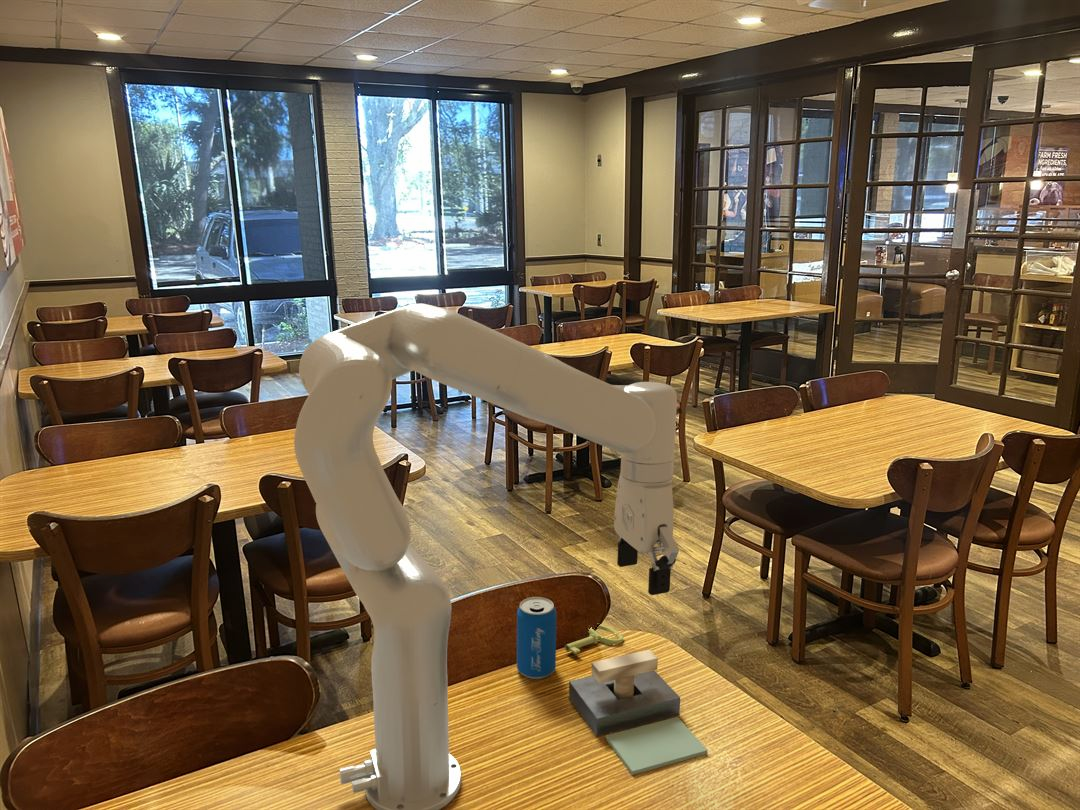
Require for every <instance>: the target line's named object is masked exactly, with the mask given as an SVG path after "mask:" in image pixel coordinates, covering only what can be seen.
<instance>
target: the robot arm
mask: <svg viewBox="0 0 1080 810" xmlns="http://www.w3.org/2000/svg"><path fill="white" fill-rule="evenodd" d="M411 372H416V373H418V374H419V375H422V376H423V377H426V378H428V379H430V380H432V381H435V382H437V383H440V384H442V385H445V386H447V387H449V388H452V389H455V390H456V391H457V390H458V391H460V392H463V393H465V394H467V395H469V396H473V397H475V398H478V399H480V400H483V401H486V402H487V403H489V404H492V405H495V406H497V407H500V408H503V409H505V410H507V411H510V412H512V413H515V414H516V415H519V416H522V417H524V418H527V419H530V420H533V421H537V422H540V423H543V424H547V425H550V426H551V427H552V426H553V427H554V428H555V427H556V428H558V429H561V430H563V431H566V432H568V433H570V434H573V435H576V436H578V437H579V438H583V439H585V440H587V441H590V442H592V443H596V444H598V445H601V446H602V447H606V448H607V449H609V450H612V451H615V452H618V453H620V454H621V455H620V473H619V477H618V478H619V479H618V483H617V489H616V495H615V496H616V497H615V506H614V518H613V520H614V521H613V523H614V524H613V528H614V531H615V533H616V539H617V558H616V559H617V561H616V563H617V566H618V567H619V568H623V567H628V566H634V565H637V564H638V555H639V554H638V553H640V554H641V555H642V554H643V555H645V554H648V558H649V561H650V564H651V567H649V569H648V588H647V589H648V590H647V593H648V594H649V595H650V596H655V595H656V596H657V595H661V594H666V593H667V594H668V593H669V592H670V589H671V587H670V586H671V574H672V573H671V571H672V568H673V567H674V564H676V561H677V557H678V554H679V552H680V549H679V546H678V544H677V543H676V541H675V539H674V499H673V498H674V497H673V496H674V495H673V486H672V485H673V484H672V482H673V480H674V469H675V468H674V464H675V450H676V449H675V448H676V446H675V445H676V430H677V429H676V425H677V408H678V406H677V405H678V394H677V390H675V388H674V387H673V386H672V385H669V384H667V383H664V382H663V383H662V382H658V381H657V382H656V381H640V382H639V381H638V382H634V383H631V384H628V385H627V384H626V385H623V384H621V385H620V384H619V385H617V384H610V383H608V382H605V381H604V380H601V379H599V378H597V377H594V376H592V375H590V374H588V373H586V372H583V371H581V370H579V369H576V368H575V367H573V366H571V365H569V364H567V363H565V362H562V361H561V360H559V359H558V358H555V357H553V356H552V355H549V354H547V353H546V352H543V351H541V350H539V349H538V348H537V349H536V348H535V347H533V346H530V345H527V344H526V343H523V342H521V341H519V340H516V339H514V337H513V338H512V337H510V336H508V335H506V334H504V333H501V332H499V331H497V330H496V329H492V328H491V327H488V326H487V325H485V324H483V323H480V322H478V321H475V320H473V319H471V318H469V317H468V316H464V315H462V314H460V313H458V312H456V311H453V310H450V309H447V308H443V307H439V306H436V305H431V304H427V303H412V304H408V305H404V306H402V307H399V308H395V309H392V310H390V311H388V312H385V313H382V314H379V315H376V316H373V317H371V318H368V319H365V320H362V321H359V322H357V323H354V324H351V325H349V326H345V327H343V328H340V329H337V330H334V331H332V332H328V333H326V334H324V335H322V336H320V337H318V338H317V339H315V340H314V341H312V342H311V343H310V344H309V345H308V346H307V347H306V349H305V350H304V351H303V353H302V355H301V357H300V361H299V366H298V373H299V379H300V382H301V384H302V386H303V388H304V389H305V391H306V392H307V393H308V396H307V398H306V399H305V401H304V404H303V405H302V408H301V409H300V412H299V414H298V417H297V421H296V426H295V430H294V438H293V439H294V440H293V444H294V455H295V459H296V461H297V463H298V464H297V465H298V467H299V469H300V471H301V474H302V476H303V478H304V480H305V482H306V484H307V487H308V489H309V491H310V493H311V496H312V498H313V500H314V503H316V504H315V515H316V520H317V524H318V526H319V528H320V531H321V532H322V534H323V537H324V538H325V540H326V541H327V543H328V546H329V547H330V549H331V551H332V553H333V555H334V556H335V559H336V560H337V563H338V564H339V566H340V568H341V570H342V572H343V573H344V574H345V575H344V576H345V577H346V579H347V581H348V582H349V584H350V585H351V588H352V590H353V591H354V593H355V595H356V596H357V598H358V599H359V601H360V602H361V603H362V605H363V607H364V609H365V610H366V612H367V614H368V616H369V617H370V619H371V622H372V626H373V643H372V652H371V666H370V667H371V687H372V702H373V706H372V707H373V722H374V723H373V724H374V741H375V742H374V743H375V744H374V746H375V747H374V748H375V749H372V750H370V758H369V759H365V760H363V763H361V764H357V765H351V766H350V765H349V766H345V767H342V768H339V769H338V770H339V771H338V772H339V779H340V785H341V786H342V785H346V784H349V783H351V788H352V793H353V794H357V793H360V792H363V791H365V796H366V798H367V801H368V803H370V805H371V806H372V807H373V808H374V809H375V810H441V809H442V808H444V807H446V806H447V805H448V804H450V803H451V801H453V799H455V797H456V795H458V792H459V791H460V788H461V783H462V770H461V766H460V764H459V762H458V760H457V759H456V758H455V757H454V756H453V755H451V753H450V743H449V742H450V737H449V736H450V735H449V729H450V728H449V699H448V697H449V695H448V694H449V693H448V688H449V687H448V686H449V685H448V640H449V631H450V625H451V620H452V600H451V596H450V593H449V590H448V588H447V586H446V584H445V583H444V581H443V579H442V577H440V575H439V573H437V571H436V570H434V569H433V568H432V566H431V565H430V564H429V563H428V562H427V560H425V559H424V558H423V557H422V556H421V554H419V553H418V552H417V550H416V549H415V548H414V546H413V545H412V543H411V526H410V520H409V517H408V514H407V511H406V509H405V508H404V506H403V504H402V502H401V501H400V499H399V497H398V496H397V494H396V493H395V490H394V489H393V486H392V484H391V482H390V481H389V478H388V476H387V474H386V472H385V470H384V468H383V466H382V463H381V460H380V458H379V455H378V454H377V450H376V448H375V445H374V440H373V437H374V431H375V428H376V425H377V422H378V420H379V418H380V416H381V415H382V413H383V411H384V409H385V408H386V406H387V404H388V402H389V400H390V397H391V394H392V389H393V388H392V387H393V380H395V379H397V378H400V377H402V376H404V375H406V374H409V373H411ZM655 545H658V546H655ZM656 553H662V556H661V557H659V559H658V556H657V554H656Z"/></svg>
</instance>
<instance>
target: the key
mask: <svg viewBox="0 0 1080 810" xmlns="http://www.w3.org/2000/svg"><path fill="white" fill-rule="evenodd" d="M599 624H600V623H599ZM598 629H599V630H603V631H606V632H609V633H611V634H612V635H614V633H620V631H618V630H616V629H614V628H612V627H609V626H607V625H604V624H600V625H599V626H598V627H597V629H595V628H594V629H592V627H591V628H590V629H589V628H588V630H589V631H588V633H589V635H588V636H587V637H585V638H582V639H579V640H576V641H573V642H571V643H567V644H565V645H564V650H565V651H566V652H571V653H573V654H575V655H577V654H579V653H581V650H580V649H579V648H583V647H585V646H589V645H591V644H594V645H596V644H598V642H600V643H601V644H603V645H604V644H605V645H606V646H607V645H609V646H614V645H613V644H618V643H621V642H622V641H623V642H624V640H623V639H624V636H623V634H622V633H620V634H615V635H614V636H615V637H617V638H609V637H607V636H604V635H602V634H600V633H599V632H597V631H595V630H598ZM616 635H618V636H616ZM601 637H603V638H601ZM596 638H598V639H596ZM618 638H619V639H618ZM598 640H600V641H598ZM623 642H622V643H623ZM622 643H621V644H622Z"/></svg>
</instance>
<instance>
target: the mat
mask: <svg viewBox="0 0 1080 810" xmlns="http://www.w3.org/2000/svg"><path fill="white" fill-rule="evenodd" d="M605 741H606V742H607V743H608V744H609V745H610V747H611V748H612V749H613V751H614V752H615V754H616V756H618V758H619V759H620V761H621V762H622V763H623V765H624V767H626V769H627V770H628V771H629V773H630V774H631V776H634V775H637V774H638V775H639V774H642V773H645V772H648V771H652V770H656V769H659V768H662V767H666V766H670V765H672V764H676V763H679V762H684V761H686V760H690V759H694V758H697V757H700V756H701V757H702V756H704V755H708V749H707V747H705V745H704V744H703V743H702V742H701V740H699V739H698V738H697V737H696V736H695V734H693V732H692V731H691V730H690V728H688V727H687V726H686V724H684V722H683V721H682V720H681V719H680V718H679V717H678V716H674V717H670V718H666V719H663V720H659V721H655V722H651V723H650V724H649V723H647V724H646V725H645V724H643V725H640V726H636V727H632V728H628V729H624V730H620V731H617V732H613V733H609V734H605Z"/></svg>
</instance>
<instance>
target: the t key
mask: <svg viewBox="0 0 1080 810" xmlns="http://www.w3.org/2000/svg"><path fill="white" fill-rule="evenodd" d="M658 660H659V657H658V656H656V655H655V653H653V652H652V651H651V650H650V649H647V650H643V651H637V652H633V653H628V654H627V653H626V654H624V655H620V656H615V657H610V658H606V659H601V660H597V661H593V662H591V668H590V669H591V672H590V673H591V674H590V675H591V676H593V677H594V678H595V679H596V681H597V682H598V683H603V682H607V681H612V680H614V696H615V697H616V698H617V699H618V700H620V699H624V698H628V697H632V696H633V694H634V675H637V674H642V673H646V672H650V671H654V670H655V671H657V670H658V663H659V661H658Z"/></svg>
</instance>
